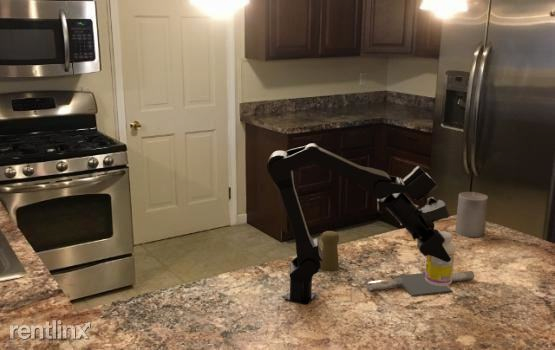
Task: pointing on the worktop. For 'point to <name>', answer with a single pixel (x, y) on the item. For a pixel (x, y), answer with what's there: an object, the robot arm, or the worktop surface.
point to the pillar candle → (471, 214)
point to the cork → (329, 251)
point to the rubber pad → (420, 285)
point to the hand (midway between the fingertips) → (446, 255)
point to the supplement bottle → (441, 264)
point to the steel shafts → (399, 282)
